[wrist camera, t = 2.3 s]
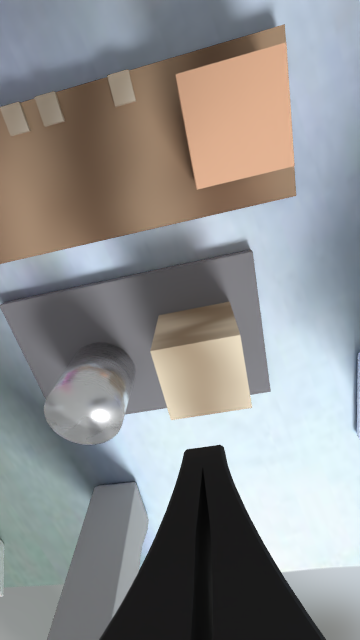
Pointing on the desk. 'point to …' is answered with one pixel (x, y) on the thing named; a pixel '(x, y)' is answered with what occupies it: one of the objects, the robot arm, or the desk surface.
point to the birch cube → (200, 361)
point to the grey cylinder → (91, 395)
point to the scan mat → (138, 320)
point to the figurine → (1, 567)
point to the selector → (238, 116)
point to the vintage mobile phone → (101, 563)
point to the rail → (114, 159)
